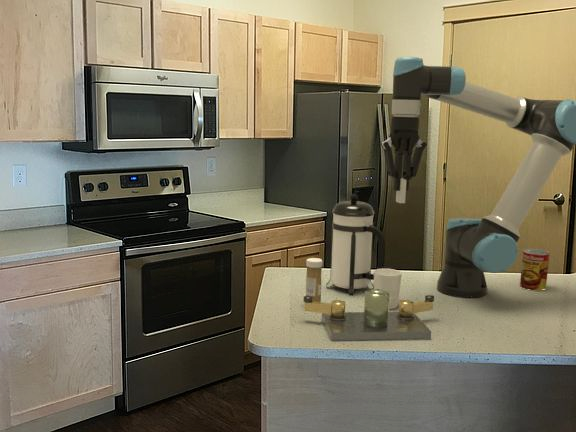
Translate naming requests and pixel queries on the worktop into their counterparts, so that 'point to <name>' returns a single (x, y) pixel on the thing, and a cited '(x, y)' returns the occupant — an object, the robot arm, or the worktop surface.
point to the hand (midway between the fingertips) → (400, 202)
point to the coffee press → (354, 245)
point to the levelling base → (375, 332)
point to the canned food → (534, 269)
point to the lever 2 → (415, 307)
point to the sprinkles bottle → (314, 278)
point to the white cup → (388, 284)
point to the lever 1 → (326, 307)
